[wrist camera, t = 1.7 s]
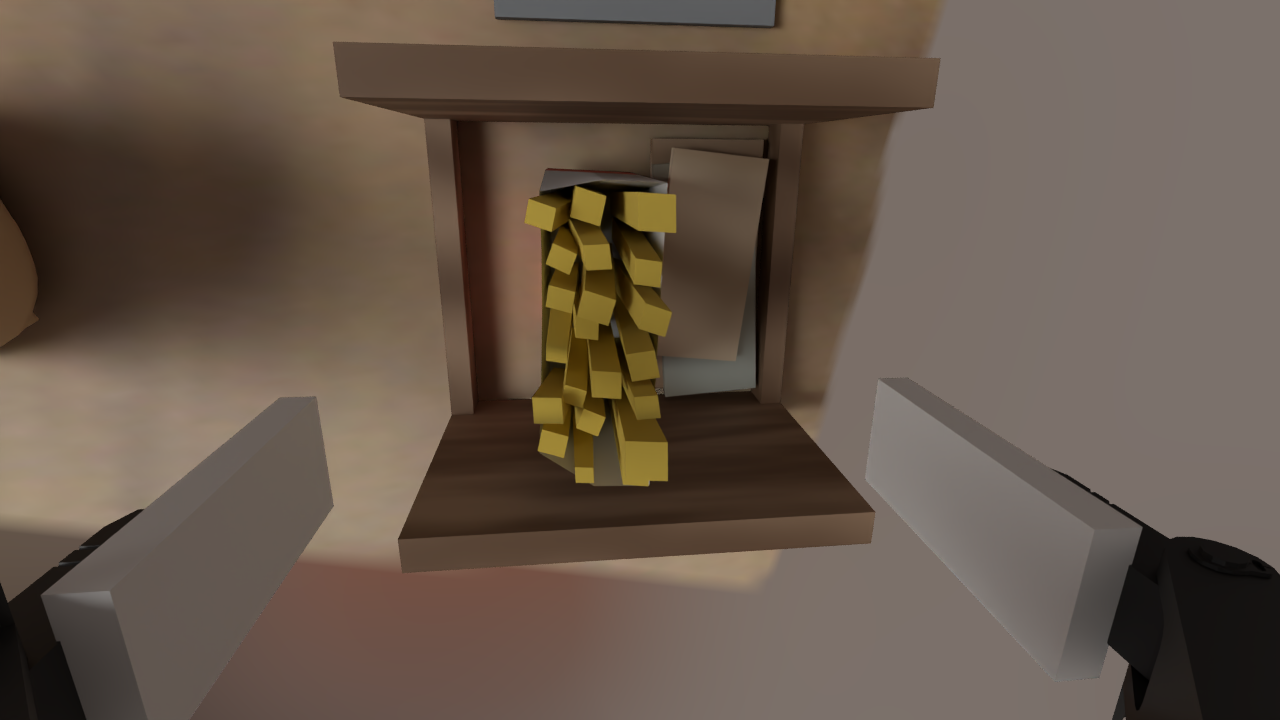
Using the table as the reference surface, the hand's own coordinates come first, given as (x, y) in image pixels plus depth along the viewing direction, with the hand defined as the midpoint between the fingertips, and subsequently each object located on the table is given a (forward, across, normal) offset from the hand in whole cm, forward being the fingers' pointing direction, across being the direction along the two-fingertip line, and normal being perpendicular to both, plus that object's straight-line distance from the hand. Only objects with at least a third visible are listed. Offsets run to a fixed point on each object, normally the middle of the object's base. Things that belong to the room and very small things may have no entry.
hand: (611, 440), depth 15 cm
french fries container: (+22, 0, 0) cm, 22 cm away
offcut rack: (+22, +2, 0) cm, 22 cm away
